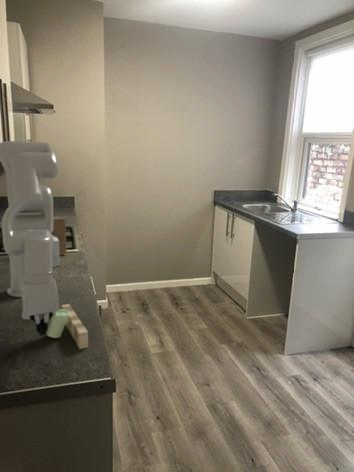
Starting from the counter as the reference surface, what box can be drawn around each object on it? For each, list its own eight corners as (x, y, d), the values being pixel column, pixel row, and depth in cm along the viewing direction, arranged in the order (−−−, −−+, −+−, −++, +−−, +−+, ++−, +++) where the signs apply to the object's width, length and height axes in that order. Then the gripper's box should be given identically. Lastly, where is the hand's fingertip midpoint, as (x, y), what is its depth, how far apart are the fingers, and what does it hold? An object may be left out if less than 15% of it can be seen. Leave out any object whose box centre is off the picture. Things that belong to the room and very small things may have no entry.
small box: (43, 262, 188) (43, 237, 185) (57, 261, 191) (56, 236, 188) (46, 267, 181) (45, 241, 178) (60, 266, 184) (59, 240, 181)
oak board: (62, 318, 131) (61, 305, 130) (69, 317, 132) (69, 303, 131) (79, 349, 113) (79, 333, 111) (88, 347, 114) (88, 332, 113)
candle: (45, 336, 115) (54, 311, 115) (44, 328, 120) (53, 305, 119) (61, 339, 118) (70, 315, 117) (59, 332, 122) (68, 308, 121)
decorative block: (44, 257, 197) (43, 219, 192) (43, 254, 202) (42, 217, 197) (66, 255, 202) (65, 218, 197) (65, 252, 207) (64, 216, 202)
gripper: (62, 270, 119) (64, 324, 123) (10, 276, 112) (14, 333, 116) (68, 277, 113) (69, 334, 117) (13, 284, 106) (17, 344, 110)
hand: (41, 333), depth 117 cm, fingers closed
